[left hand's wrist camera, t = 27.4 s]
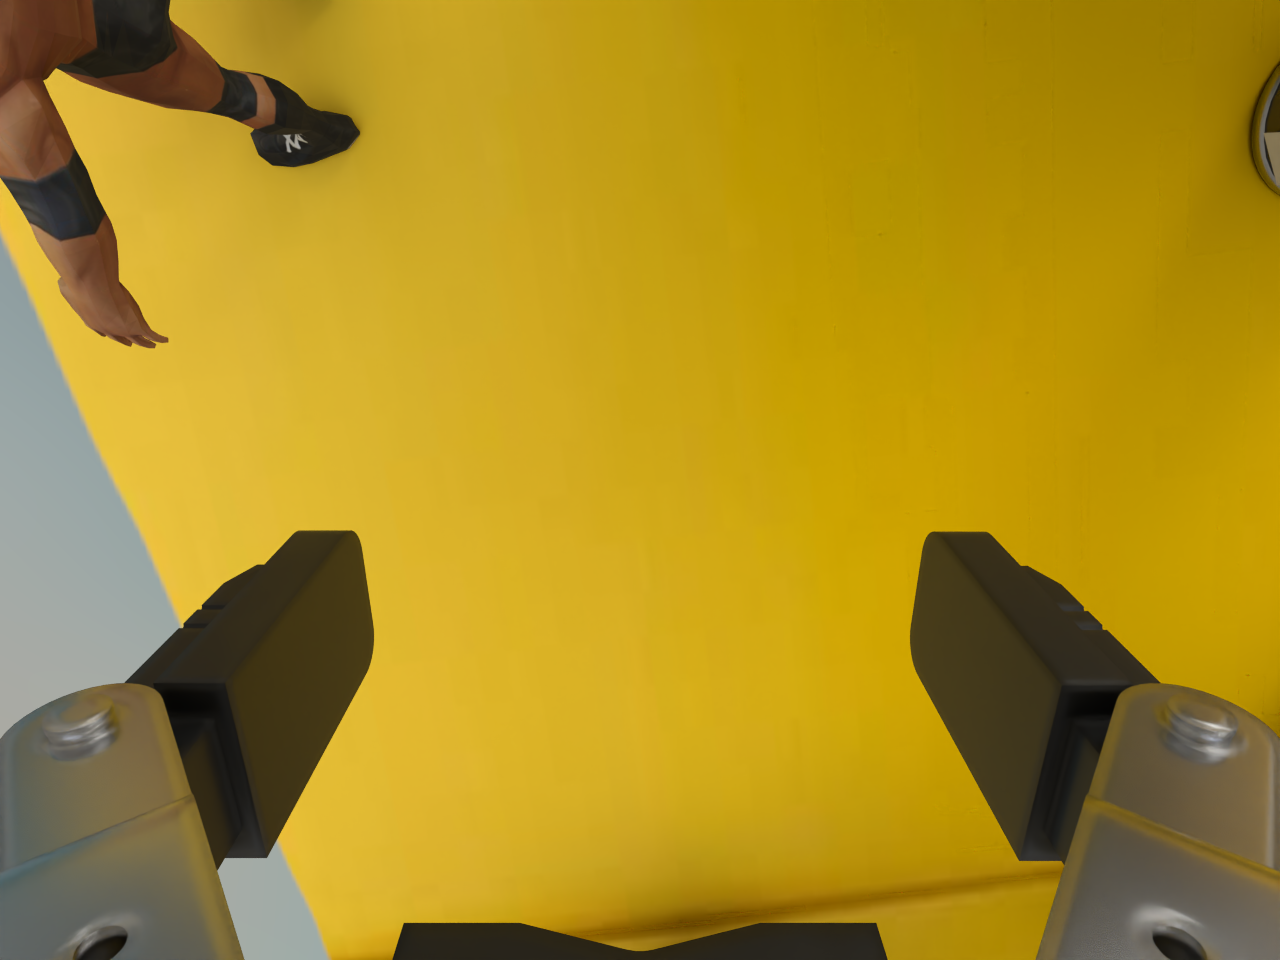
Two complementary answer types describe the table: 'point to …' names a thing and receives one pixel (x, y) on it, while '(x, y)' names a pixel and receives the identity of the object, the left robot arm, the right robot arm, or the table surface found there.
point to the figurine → (140, 69)
